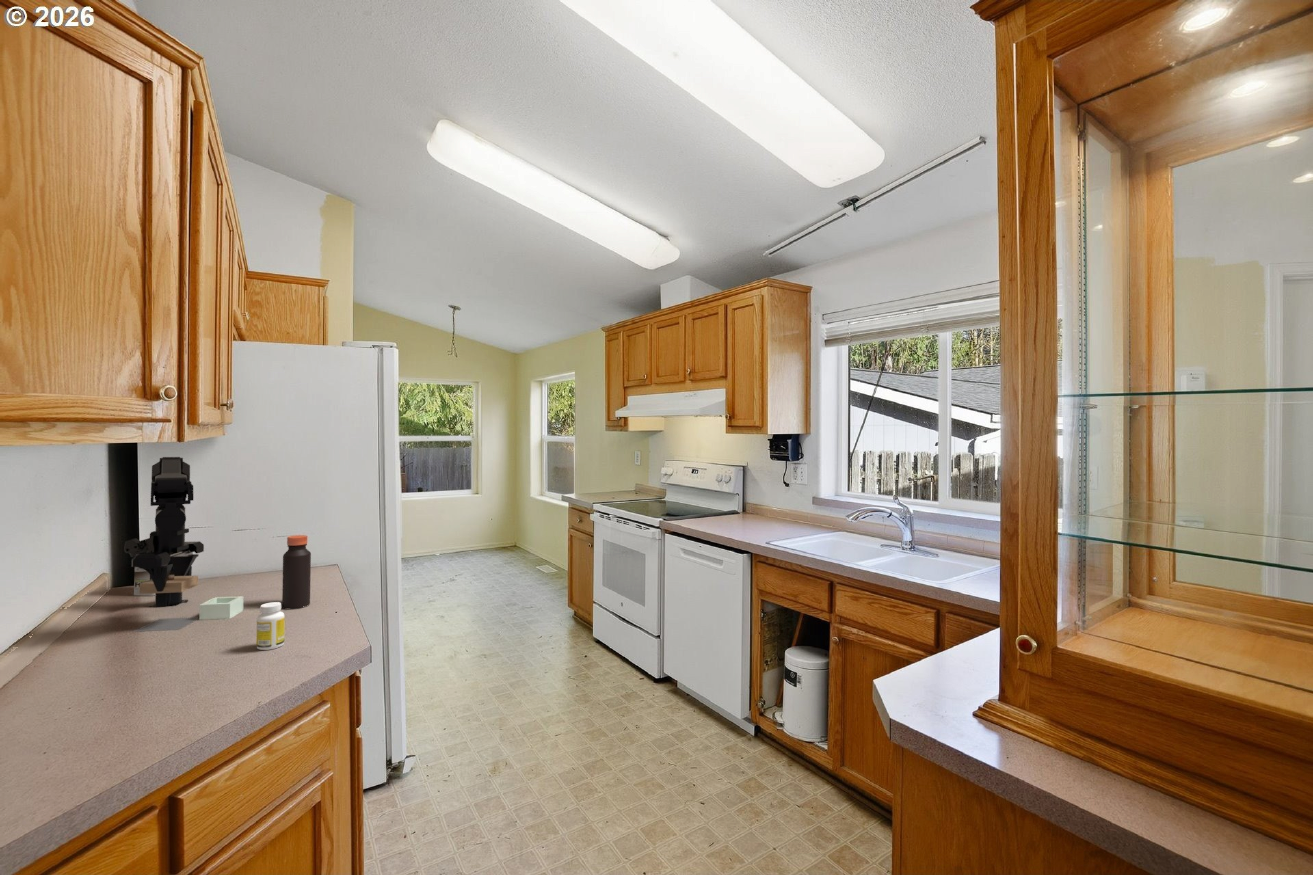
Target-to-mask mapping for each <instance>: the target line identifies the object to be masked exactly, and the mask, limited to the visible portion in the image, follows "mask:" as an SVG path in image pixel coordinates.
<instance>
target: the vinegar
mask: <svg viewBox="0 0 1313 875" xmlns="http://www.w3.org/2000/svg"><path fill="white" fill-rule="evenodd" d="M286 544H287V546H286V547H287V548H288V549H287V551H285V553H284V554H283V555H282V589H281V590H282V592H281V594H282V595H281V597H282V598H281V600H282V601H281V602H282V603H281V608H283V609H285V608H297V609H302V608H304V607H303V606H306V607H308V606H309V605H310V604H311V568H312V567H311V563H312V562H311V561H312V560H311V559H312V558H311V557H312V554H311V551H309V549H307V546H308V535H306V534H305V535H304V534H302V535H301V534H298V535H297V534H295V535H290V536H287V538H286ZM307 605H308V606H307ZM301 607H302V608H301Z"/></svg>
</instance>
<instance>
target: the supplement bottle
mask: <svg viewBox="0 0 1313 875" xmlns="http://www.w3.org/2000/svg"><path fill="white" fill-rule="evenodd" d="M281 610H282V603H281V602H279V601H277V602H276V601H275V602H274V601H273V602H267V603H263V604H261V605H260V613H261V614H259V615H258V616H257V618H256V649H257V650H260V651H268V650H274V649H277V648H281V647H283V645H284V644H285V626H286V625H285V616H286V615H285V613H284V612H283V611H281Z"/></svg>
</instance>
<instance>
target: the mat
mask: <svg viewBox="0 0 1313 875" xmlns="http://www.w3.org/2000/svg"><path fill="white" fill-rule="evenodd" d="M198 620H199V616H195V617H193V616H192V617H171V618H170V617H169V618H158V619H155V620H154V621H151V622H149V623H148V624H145V625H144V626H141V627H139V628H138V629H135V630H133V631H132V633H140V632H141V633H142V632H160V631H161V632H162V631H179V630H182V629H183V628H186V627H187V626H189V625H191V624H192V623H194V622H196V621H198Z"/></svg>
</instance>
